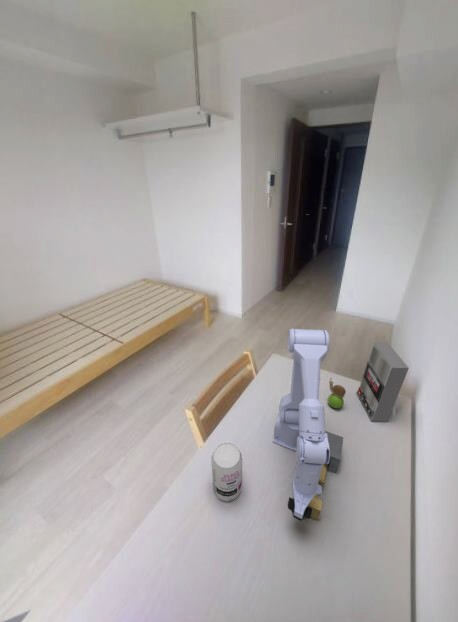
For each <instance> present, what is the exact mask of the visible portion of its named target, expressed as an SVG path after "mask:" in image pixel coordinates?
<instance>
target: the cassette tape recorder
mask: <svg viewBox="0 0 458 622" xmlns="http://www.w3.org/2000/svg"><path fill="white" fill-rule="evenodd" d="M409 368H410V367H409V366H408V365H407V364H406V363H405V362H404V360H403V359H402V358H401V357H400V355H399V354H398V353H397V352H396V351H395V350H394V348H393V347H392V346H391V344H390V343H389V342H372V346H371V349H370V352H369V356H368V358H367V361H366V366H365V369H364V371H363V372H364V373H363V374H362V380H361V383H360V385H359V387H358V389H357V390H356V395H357V397H358V399H359V400H360V402H361V405H362V406H363V408H364V411H365V412H366V414H367V416H368V418H369V420H370V422H372V423H373V422H374V423H375V422H378V423H379V422H380V423H388V422H389V420H390V416H391V413H392V411H393V409H394V407H395V404H396V401H397V399H398V396H399V394H400V391H401V389H402V386H403V383H404V381H405V380H406V376H407V374H408V371H409Z"/></svg>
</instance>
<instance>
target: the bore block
mask: <svg viewBox="0 0 458 622" xmlns="http://www.w3.org/2000/svg"><path fill="white" fill-rule="evenodd" d="M325 433H327V436H328V442H329V448H330V460H329V464H328V466H327V471H328V472H331V473H333V474H335V475H337V474H338V471H339V468H340V464H341V461H342V453H343V443H344V436H341V435H339V434H335V433H333V432H329V431H327V430H325Z"/></svg>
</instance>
